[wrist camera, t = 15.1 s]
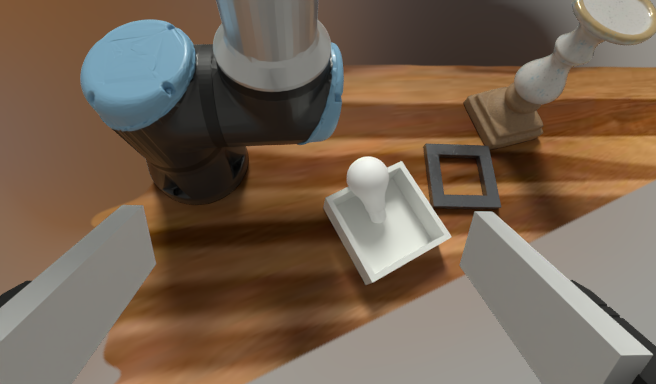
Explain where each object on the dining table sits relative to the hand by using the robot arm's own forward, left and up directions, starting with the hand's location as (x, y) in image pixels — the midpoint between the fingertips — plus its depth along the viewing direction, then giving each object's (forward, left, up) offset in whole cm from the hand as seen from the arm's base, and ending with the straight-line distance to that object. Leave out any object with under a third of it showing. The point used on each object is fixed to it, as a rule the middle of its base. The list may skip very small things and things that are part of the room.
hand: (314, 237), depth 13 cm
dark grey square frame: (-4, +32, -36) cm, 48 cm away
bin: (-3, +15, -36) cm, 39 cm away
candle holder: (-10, +46, -36) cm, 59 cm away
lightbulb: (-3, +15, -34) cm, 37 cm away
